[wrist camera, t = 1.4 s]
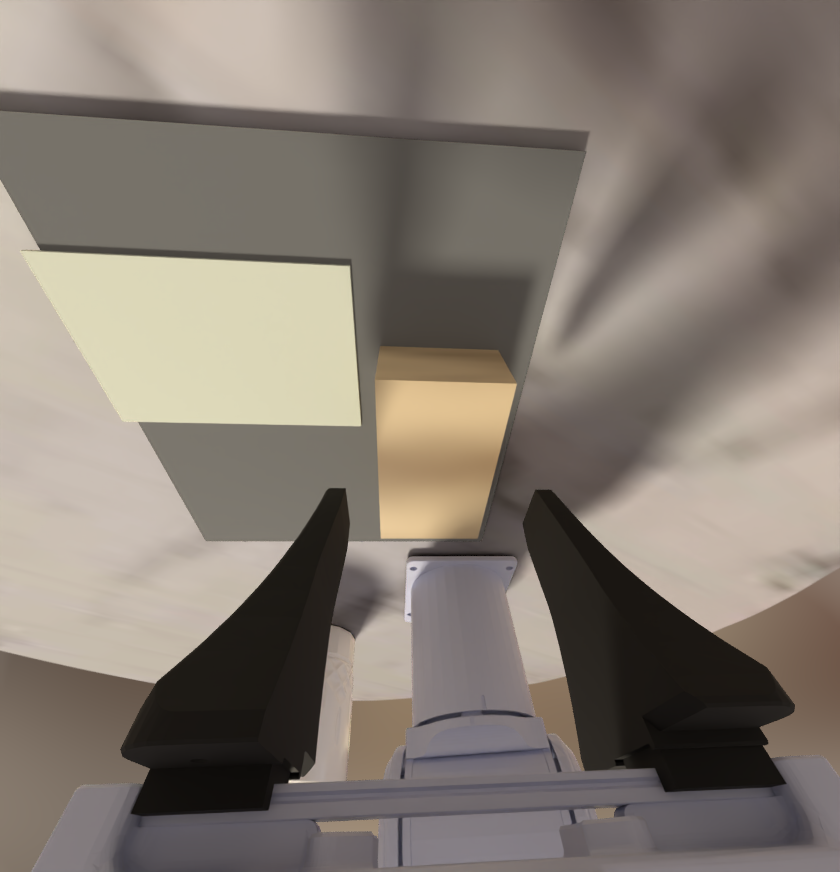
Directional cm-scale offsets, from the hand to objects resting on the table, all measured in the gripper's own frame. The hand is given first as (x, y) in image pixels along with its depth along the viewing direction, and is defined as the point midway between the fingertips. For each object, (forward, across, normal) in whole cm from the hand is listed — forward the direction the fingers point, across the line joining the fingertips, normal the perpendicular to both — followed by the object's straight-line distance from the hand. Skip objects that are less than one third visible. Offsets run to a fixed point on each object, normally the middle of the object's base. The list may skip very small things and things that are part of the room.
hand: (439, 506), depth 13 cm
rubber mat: (+5, +5, -1) cm, 7 cm away
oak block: (+5, 0, 0) cm, 5 cm away
